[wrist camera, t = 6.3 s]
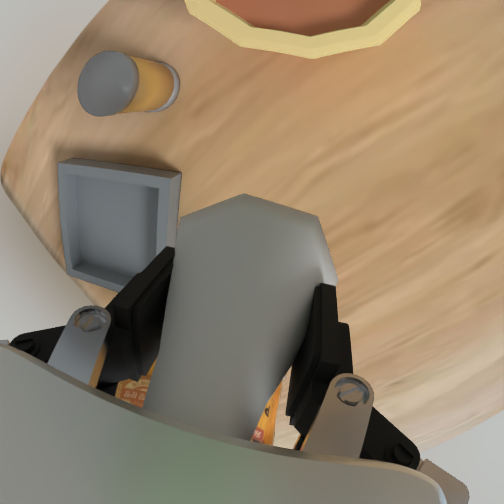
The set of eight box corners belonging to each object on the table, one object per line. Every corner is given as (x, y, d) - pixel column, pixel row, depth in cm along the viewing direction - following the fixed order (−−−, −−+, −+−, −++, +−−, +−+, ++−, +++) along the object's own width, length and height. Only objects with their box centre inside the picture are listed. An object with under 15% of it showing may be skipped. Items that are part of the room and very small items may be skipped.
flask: (341, 191, 11) (406, 474, 2) (331, 341, 14) (321, 552, 5) (160, 195, 12) (-40, 357, 3) (188, 332, 15) (101, 504, 7)
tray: (72, 158, 27) (57, 162, 25) (181, 172, 26) (170, 178, 24) (78, 264, 33) (67, 274, 31) (173, 294, 32) (165, 306, 30)
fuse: (137, 63, 22) (82, 53, 15) (184, 63, 22) (136, 48, 15) (131, 110, 24) (74, 116, 17) (176, 113, 24) (126, 117, 17)
